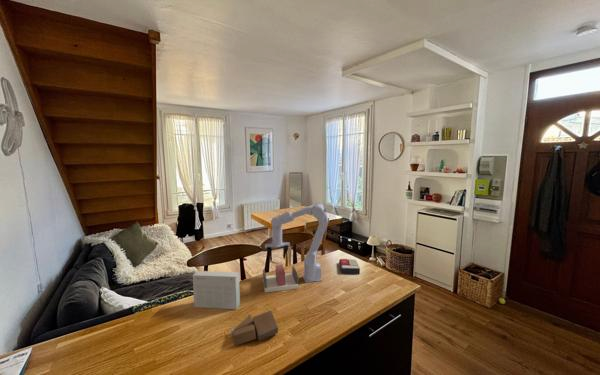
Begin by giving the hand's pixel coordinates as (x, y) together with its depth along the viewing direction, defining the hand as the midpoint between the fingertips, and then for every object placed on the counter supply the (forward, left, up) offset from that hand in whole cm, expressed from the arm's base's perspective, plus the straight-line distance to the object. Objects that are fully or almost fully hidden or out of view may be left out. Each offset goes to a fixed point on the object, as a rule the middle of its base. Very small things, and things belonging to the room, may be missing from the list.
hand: (277, 258), depth 146 cm
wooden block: (+16, +45, -11) cm, 49 cm away
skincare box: (+32, +23, -11) cm, 41 cm away
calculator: (-45, +1, -11) cm, 47 cm away
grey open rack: (0, +10, -10) cm, 14 cm away
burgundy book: (0, +11, -8) cm, 14 cm away
